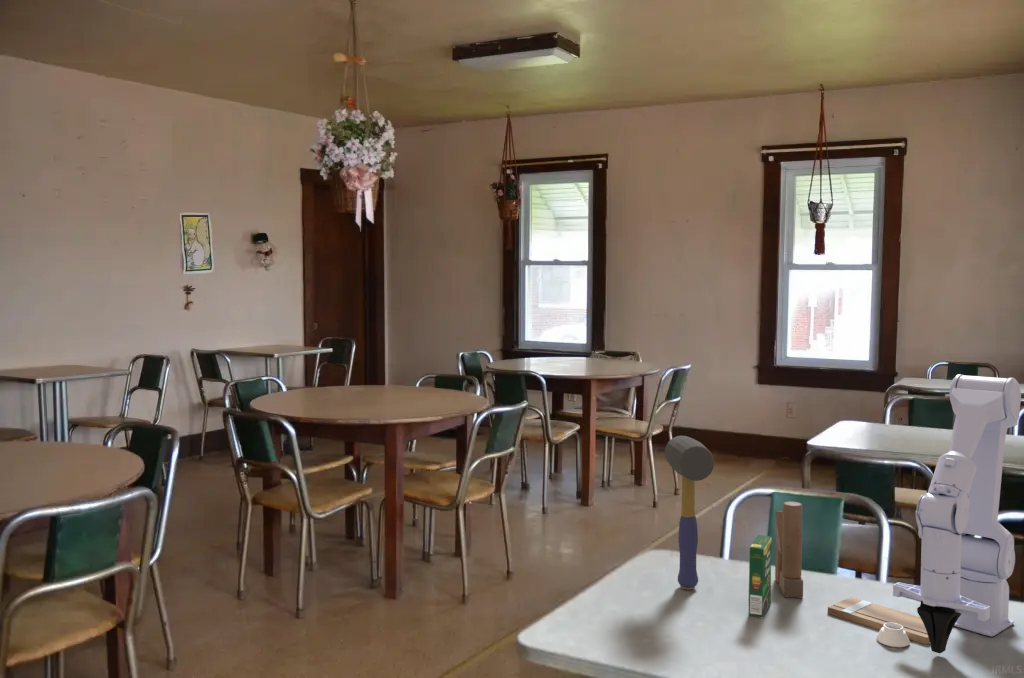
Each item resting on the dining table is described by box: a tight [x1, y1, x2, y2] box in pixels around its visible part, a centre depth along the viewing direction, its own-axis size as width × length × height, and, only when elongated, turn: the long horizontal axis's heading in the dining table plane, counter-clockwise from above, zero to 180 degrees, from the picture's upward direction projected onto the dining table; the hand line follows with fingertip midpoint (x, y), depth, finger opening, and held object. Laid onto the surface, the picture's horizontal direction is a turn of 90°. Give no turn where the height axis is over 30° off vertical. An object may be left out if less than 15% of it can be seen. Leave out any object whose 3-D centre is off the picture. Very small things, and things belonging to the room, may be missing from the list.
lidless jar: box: [876, 623, 910, 648], centre depth 146 cm, size 5×3×5 cm
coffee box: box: [748, 534, 773, 619], centre depth 160 cm, size 8×3×13 cm, turn 153°
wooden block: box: [774, 501, 804, 599], centre depth 171 cm, size 4×11×18 cm, turn 172°
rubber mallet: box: [664, 435, 715, 591], centre depth 171 cm, size 12×8×30 cm, turn 4°
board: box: [827, 596, 930, 645], centre depth 154 cm, size 8×18×1 cm, turn 40°
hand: (938, 650), depth 140 cm, fingers closed
